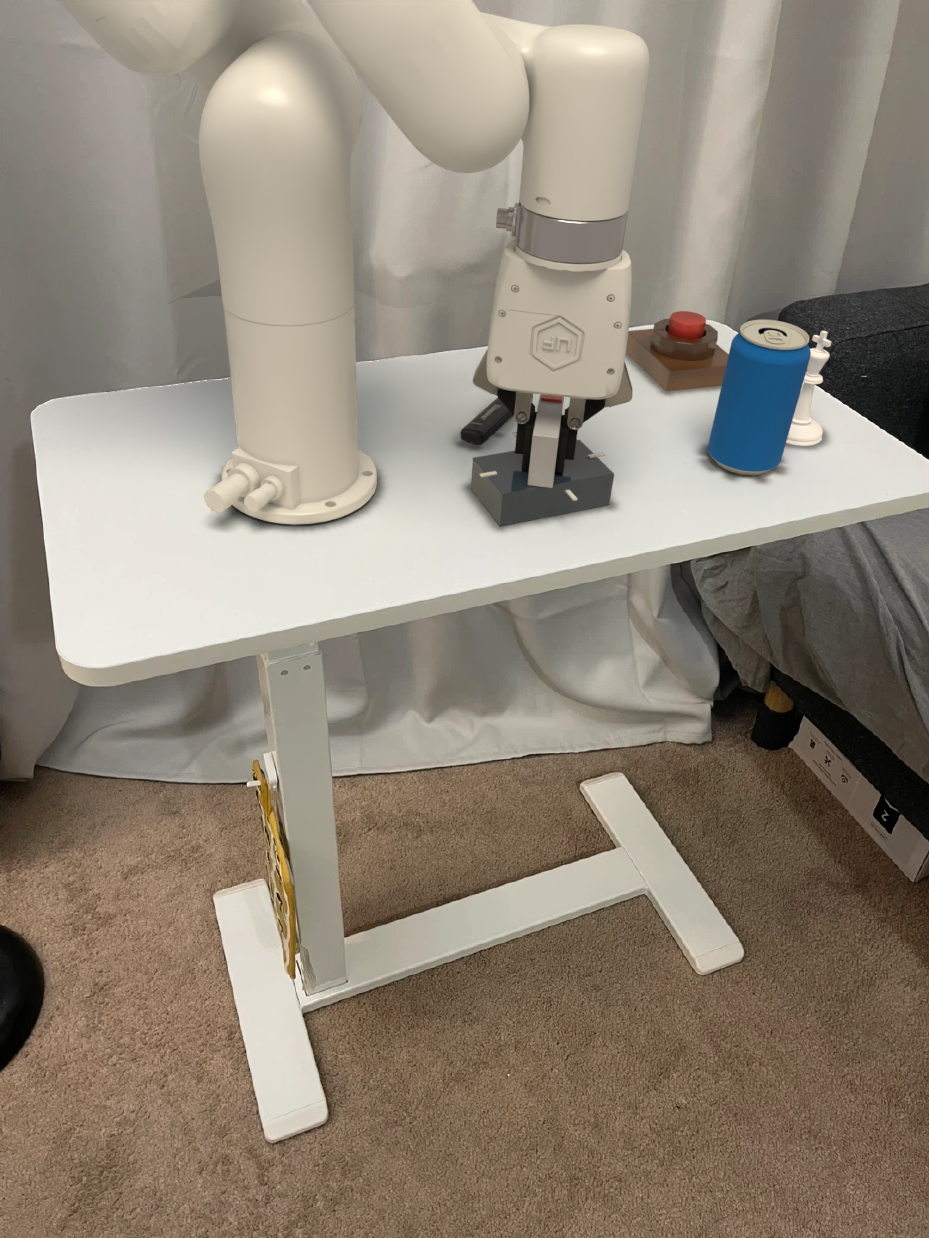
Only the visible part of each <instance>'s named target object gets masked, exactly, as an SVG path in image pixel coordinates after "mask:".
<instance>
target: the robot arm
mask: <svg viewBox="0 0 929 1238" xmlns="http://www.w3.org/2000/svg"><path fill="white" fill-rule="evenodd" d="M306 1H307V3H308V4H309V6H310V7H311V9H312V12H314V13H315V15H316V16H315V15H314V14H313V13H312V12H311V11H310V10H309V8H307V6H306V5H305V4H304V3H303V2H302V0H56V2H57V3H58V4H59V5H60V6H61V7H62V8H63V9H64V10H65V11H66V12H67V13H68V14H69V15H70V16H71V17H72V18H73V20H75V21H76V23H78V25H79V26H80V27H81V28H82V29H83V30H84V31H85V32H86V33H87V34H88V35H89V36H90V37H91V38H92V39H93V41H94V42H95V43H96V44H97V45H98V46H99V47H100V48H101V49H102V50H103V51H104V52H105V53H106V54H107V55H109V56H110V57H111V58H112V59H113V60H114V61H116V62H118V63H119V64H121V65H122V66H123V67H124V68H126V69H128V70H130V71H132V72H135V73H139V74H141V75H143V76H149V77H169V76H171V75H175V74H180V73H181V72H184V73H186V75H187V76H188V77H189V78H190V79H191V80H192V81H193V82H194V83H195V84H196V85H197V86H198V87H199V88H200V89H201V90H202V91H203V93H205V95H206V96H207V97H206V99H205V103H204V106H203V109H202V113H201V116H200V122H199V123H200V124H199V130H198V158H199V165H200V171H201V178H202V184H203V187H204V193H205V198H206V201H207V205H208V206H207V207H208V211H209V215H210V220H211V226H212V230H213V231H212V232H213V237H214V243H215V249H216V250H215V251H216V257H217V264H218V276H219V280H220V281H219V282H220V283H219V284H220V291H221V302H222V306H223V307H222V308H223V318H224V326H225V335H226V337H225V338H226V344H227V345H226V346H227V355H228V364H229V374H230V384H231V385H230V386H231V394H232V403H233V405H232V406H233V413H234V423H235V432H236V440H237V441H236V442H237V443H236V444H237V448H235V449H234V450H233V451H232V452H231V457H230V458H229V460H228V461H227V462H226V463H225V465H224V467H223V469H222V472H221V480H220V481H219V482H217V483H216V484H214V485H213V486H211V487H210V488H209V489H208V490H206V491H205V492H204V494H203V497H204V498H203V499H204V503H205V504H206V506H207V507H208V508H209V510H211V511H212V512H214V513H216V514H222V513H223V512H224V511H226V510H228V508H230V507H232V506H233V507H234V508H235V509H237V510H238V511H239V512H241V513H244V514H245V515H247V516H249V517H252V518H254V519H258V520H261V521H264V522H269V523H274V524H281V525H311V524H312V525H313V524H319V523H325V522H329V521H333V520H336V519H340V518H343V517H344V516H348V515H349V514H352V513H354V512H355V511H357V510H359V509H361V508H362V507H363V506H364V505H366V503H367V502H369V501H370V500H371V498H372V497H373V495H374V494H375V493H376V489H377V486H378V481H377V480H378V471H377V467H376V464H375V462H374V461H373V460H372V458H371V457H370V456H369V455H368V454H367V453H366V452H365V451H363V450H361V449H360V448H358V409H357V407H358V403H357V402H358V401H357V397H358V396H357V354H356V353H357V346H356V345H357V343H356V340H357V339H356V338H357V337H356V304H355V303H356V302H355V267H354V243H353V240H354V239H353V224H352V223H353V222H352V206H351V205H352V204H351V166H352V158H353V157H352V156H353V154H354V151H355V148H356V143H357V141H358V138H359V134H360V131H361V127H362V124H363V123H362V121H363V115H364V114H363V113H364V101H363V93H362V88H361V85H360V81H359V79H360V80H361V82H362V84H363V85H364V86H365V87H366V88H367V90H368V91H369V92H370V93H371V94H372V96H373V97H374V98H375V100H376V101H377V102H378V103H379V104H380V106H381V107H382V108H383V110H384V111H385V112H386V114H387V115H388V116H389V117H390V119H391V120H392V121H393V123H394V124H395V125H396V126H397V128H398V130H399V131H400V132H401V133H402V134H403V135H404V137H406V139H407V140H408V141H409V143H411V145H412V146H413V147H414V148H415V149H416V150H417V151H418V152H419V153H420V154H421V155H422V156H423V157H424V158H426V159H428V160H429V161H430V162H432V163H433V164H434V165H436V166H437V167H440V168H442V169H445V170H447V171H451V172H454V173H458V174H474V173H480V172H484V171H487V170H489V169H492V168H494V167H496V166H497V165H498V164H500V163H502V162H503V161H504V160H505V159H506V158H507V157H508V156H510V154H511V153H512V152H513V151H514V150H515V149H516V147H517V146H518V144H519V142H520V141H521V142H522V147H523V150H522V161H521V175H520V185H519V197H518V202H515V203H514V206H508V208H501V207H498V208H497V211H496V220H495V229H504V230H506V232H511V237H514V239H513V240H511V241H509V243H507V245H506V247H504V249H503V253H502V256H501V258H500V259H501V260H500V263H499V267H498V272H497V276H496V281H495V286H494V292H493V299H492V306H491V307H492V308H491V315H490V321H489V322H490V324H489V330H488V331H489V332H488V341H487V348H486V350H485V352H484V354H483V356H482V357H481V359H480V361H479V363H478V364H477V366H476V369H475V371H474V373H473V377H472V383H473V385H474V386H476V387H477V388H479V389H481V390H483V391H485V392H487V393H489V394H491V395H494V396H496V398H499V399H500V400H501V402H502V403H503V404H504V405H505V406H506V407H507V408H508V409H509V411H510V412H511V413H512V414H513V415H514V416H513V419H514V421H515V422H516V424H517V425H516V432H517V434H516V437H515V444H514V451H515V454H523V459H522V469H525V470H528V468H529V465H530V455H531V445H532V436H533V430H534V424H535V419H536V413H537V411H536V405H535V404H534V403H533V399H534V395H540V394H543V395H552V396H561V397H564V398H569V403H568V404H569V405H568V406H567V408H565V409H564V413H563V414H562V419H561V426H560V434H559V442H558V450H557V458H556V466H555V471H557V473H560V474H563V471H564V463H565V459H567V460H574V454H575V447H576V440H578V439H577V438H578V432H579V430H580V429H581V428H582V427H583V425H584V423H586V422H587V421H588V420H590V419H591V418H592V417H594V416H595V415H597V414H599V413H600V412H601V411H603V410H604V409H605V408H611V407H615V406H619V405H622V404H626V403H630V402H631V401H632V399H633V392H634V391H633V385H632V382H631V378H630V373H629V371H628V368H627V364H626V357H627V356H626V355H627V353H626V349H627V340H628V331H630V329H629V328H630V320H631V311H632V299H633V296H632V295H633V274H632V273H633V272H632V271H633V270H632V261H631V257H630V255H629V253H628V252H627V251H626V250H624V249H623V248H624V241H625V235H626V234H625V233H626V227H627V221H628V215H629V206H630V201H631V194H632V188H633V181H634V175H635V167H636V161H637V155H638V154H637V153H638V147H639V141H640V134H641V127H642V121H643V115H644V109H645V108H644V107H645V100H646V93H647V87H648V81H649V75H650V74H649V72H650V64H651V63H650V62H651V60H650V59H651V57H650V51H649V48H648V46H647V43H646V41H644V39H643V38H642V37H641V36H639V35H638V34H637V33H634V32H632V31H629V30H627V29H622V28H619V27H613V26H609V25H600V24H588V23H587V24H585V23H583V24H582V23H579V24H577V23H576V24H575V23H574V24H561V25H556V26H549V25H543V24H539V23H538V24H537V23H534V22H533V23H532V22H527V21H522V20H517V19H513V18H509V17H506V16H505V17H504V16H500V15H497V14H491V13H487V12H482V11H480V10H479V9H478V7H477V6H476V4H475V3H474V1H473V0H306ZM316 17H317V18H316ZM358 78H359V79H358Z"/></svg>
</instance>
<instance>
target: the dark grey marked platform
mask: <svg viewBox="0 0 929 1238" xmlns="http://www.w3.org/2000/svg"><path fill="white" fill-rule="evenodd" d="M511 434H512V436H513V437H514V438H516V434H517V431H514V432H513V431H512V432H511ZM600 457H605V453H604V451H602V452H596V453H594V452H593V451H592V450H591V449H590V448H589V447H588V446H587V445H586V444H585V443H584V442H583V441H582V440H581V439H577V440H576V447H575V454H574V460H567V459H565V463H564V471H563V474H560V473H557V471H555V474H554V482H553V488H547V487H538V486H530V485H528V474H529V468H528V470H525V469H522V459H523V454H515V450H509V451H504V452H499V453H493V454H487V455H486V454H485V455H481V456H475V457H472V464H471V478H470V479H471V480H470V489H471V491H472V492H473V493H474V495H475V496H476V497H477V499H478V500H479V501H480V502H481V504H482V505H483V506H484V508H485V509H486V510H487V511H488V513H489V515H491V517H492V518H493V519H494V520H495V522H496V523H497V524H498V526H500V527H503V526H504V527H505V526H508V525H514V524H519V523H524V522H529V521H534V520H539V519H544V518H548V517H549V518H550V517H555V516H560V515H565V514H569V513H575V512H579V511H584V510H585V511H586V510H591V509H595V508H596V509H597V508H600V507H605V506H609V505H610V504H611V503H610V502H611V497H612V491H613V485H614V480H615V479H614V478H615V473H614V472H613V471H612V470H611V469H610V468H609V467H608V466H607V465H606V464H605V463H604V462H603V461H602V460H601V458H600Z"/></svg>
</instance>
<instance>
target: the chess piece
mask: <svg viewBox="0 0 929 1238" xmlns="http://www.w3.org/2000/svg"><path fill="white" fill-rule="evenodd" d="M828 334H829V332H828V331H826V330H821V331H820V333H819V335H818V334H814V335H813V336H812V339H811V341H812V342H814V343H817V344H816V347H812V348H811V347H810V351H811V356H810V360H809V363H808V367H807V370H806V374H805V377H804V381H803V384H802V388H801V392H800V395H799V399H798V402H797V406H796V409H795V413H794V416H793V420H792V423H791V427H790V430H789V434H788V438H787V441H786V444H789V445H793V446H801V447H807V446H809V447H810V446H813V445H817V444H818V443H820V442H821V441H822V440H823V433H824V429H823V427H822V425H821V424H819V422H817V421H815V420H814V419H813V417H812V416H811V410H812V409H811V408H812V403H813V397H814V391H815V387H816V385H820V384H822V383H823V382H824V379H823V378H824V377H823V376H822V375H821V374H820V372H821V370H822V369H823V367H824V366H825V364H826V363H827V362H828V361H829V359H830V356H831V354H830V352H828V351H827V350H826V349H824V347H826V348H830V347H831V346H832V343H833V341H831V340H829V339H827V337H828Z"/></svg>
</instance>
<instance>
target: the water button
mask: <svg viewBox="0 0 929 1238" xmlns="http://www.w3.org/2000/svg"><path fill="white" fill-rule="evenodd" d="M669 319H670V321H669V326H668V333H669V334H670V335H673V336H676V337H678V338H684V339H699V338H702V337H703V333H704V328H705V324H707V318H706V317H705V316H704V315H702V314H700V313H697V312H694V311H688V310H679V311H674V312H672V313H670V316H669Z"/></svg>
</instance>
